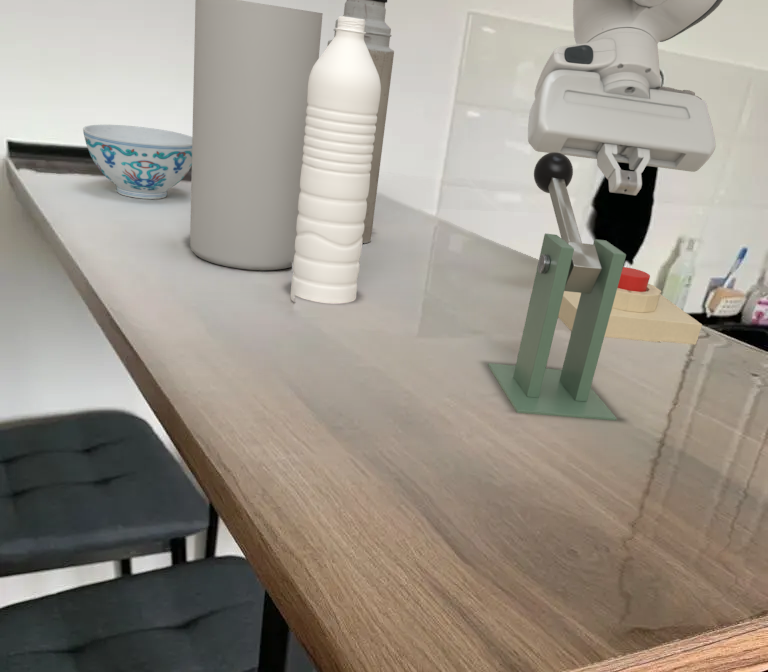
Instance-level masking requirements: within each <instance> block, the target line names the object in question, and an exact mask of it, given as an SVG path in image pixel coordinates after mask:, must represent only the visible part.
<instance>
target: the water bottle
mask: <svg viewBox="0 0 768 672" xmlns="http://www.w3.org/2000/svg"><path fill="white" fill-rule="evenodd" d="M337 19H338V25H337V27H338V28H335V27H334V29H336V35H335V37H333V38H332V39H331V40H332V41H331V42H330V44H329V45H328V44H327V45H328V46H327V47H326V48H325V49H324V50H323V52H322V53H321V55H319V59H318V60H317V61H316V63H315V64H314V66H313V68H312V70H311V73H310V76H309V81H308V95H307V103H308V106H307V109H306V113H307V116H306V126H305V133H306V135H305V136H304V143H305V145H304V146H303V152H304V154H303V157H302V161H303V164H302V168H301V176H300V189H301V192H300V194H299V201H298V211H299V214H298V217H297V225H296V232H297V236H296V239H295V251H296V253H295V255H294V261H293V262H292V271H293V274H292V276H291V285H290V286H291V287H290V299H291V301H292V302H293V303H294V304H296V303H297V302H296V297H298V298H301V299H304V300H307V301H310V302H314V303H321V304H332V305H333V304H334V305H335V304H337V305H339V304H340V305H341V304H348V303H351V302H354V301H355V300H356V299H357V294H358V278H359V274H360V267H361V266H360V263H361V262H360V259H361V257H362V251H363V244H362V241H363V238H362V234H363V232H364V220H365V216H366V210H367V201H366V198H367V197H368V193H369V185H370V171H371V161H372V152H373V149H374V146H373V143H374V140H375V136H374V133H375V131H376V126H375V124H376V122H377V116H376V114H377V113H378V108H379V102H380V94H381V84H380V78H379V75H378V72H377V70H376V67H375V65H374V63H373V60H372V58H371V56H370V53H369V51H368V49H367V46H366V44H365V42H364V33H366V32H363V31H364V29H365V20H363V19H357V18H351V17H344V16H343V15H338V16H337Z"/></svg>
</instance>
